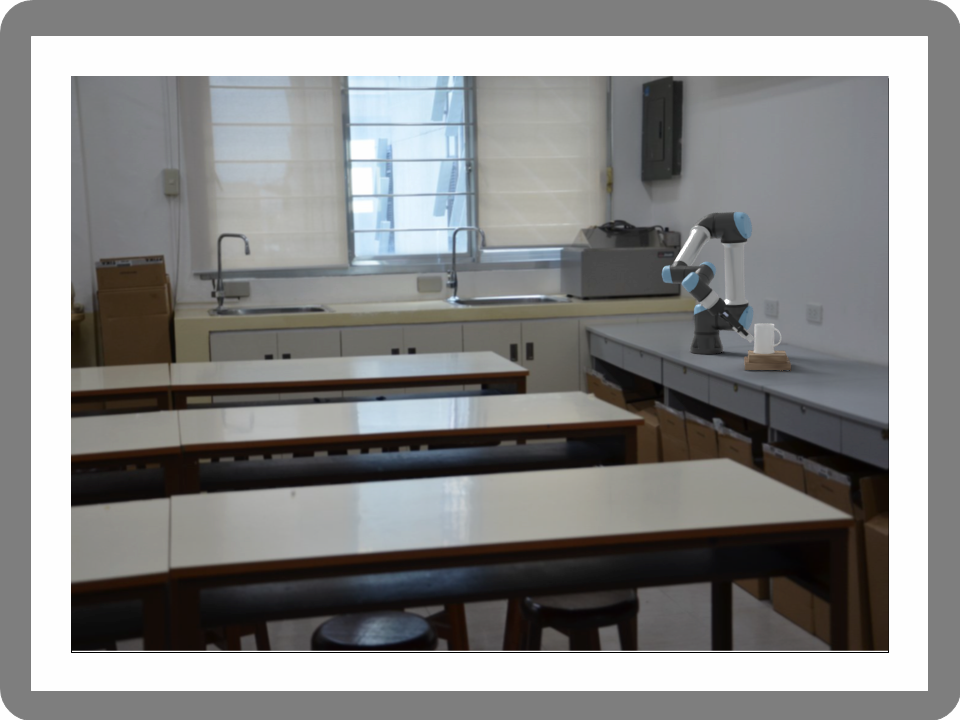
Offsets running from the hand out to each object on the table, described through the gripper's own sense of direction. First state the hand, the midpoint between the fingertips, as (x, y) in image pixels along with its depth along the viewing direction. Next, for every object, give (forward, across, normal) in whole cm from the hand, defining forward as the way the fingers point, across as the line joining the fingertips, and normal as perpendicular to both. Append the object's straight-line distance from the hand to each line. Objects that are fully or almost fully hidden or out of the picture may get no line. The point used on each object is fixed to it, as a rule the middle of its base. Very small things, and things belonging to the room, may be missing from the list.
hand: (749, 338), depth 399 cm
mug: (+10, 0, +1) cm, 10 cm away
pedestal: (+14, 0, -3) cm, 14 cm away
